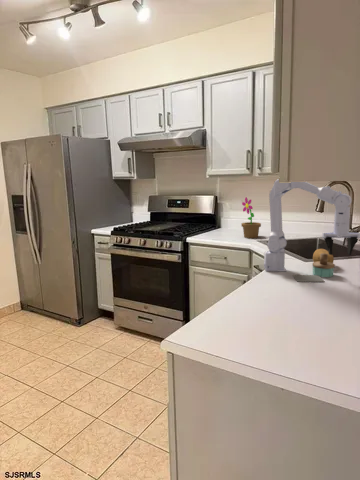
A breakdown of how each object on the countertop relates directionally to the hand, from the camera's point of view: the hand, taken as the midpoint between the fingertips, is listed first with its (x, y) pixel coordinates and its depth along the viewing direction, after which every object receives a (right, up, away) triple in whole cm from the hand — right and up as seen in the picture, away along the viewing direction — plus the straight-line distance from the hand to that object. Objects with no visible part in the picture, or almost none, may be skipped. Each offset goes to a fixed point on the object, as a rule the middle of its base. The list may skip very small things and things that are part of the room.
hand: (339, 254), depth 139 cm
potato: (+2, -7, +21) cm, 22 cm away
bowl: (-4, -9, +7) cm, 13 cm away
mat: (-13, -11, +2) cm, 17 cm away
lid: (-4, -6, +6) cm, 9 cm away
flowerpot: (-15, +8, +105) cm, 107 cm away
